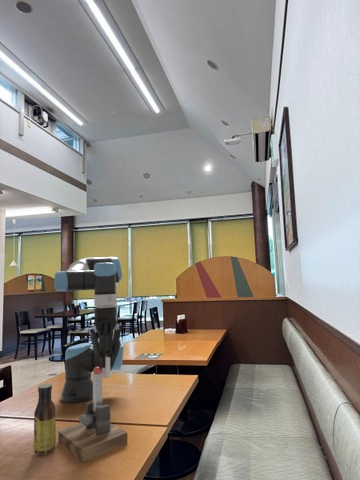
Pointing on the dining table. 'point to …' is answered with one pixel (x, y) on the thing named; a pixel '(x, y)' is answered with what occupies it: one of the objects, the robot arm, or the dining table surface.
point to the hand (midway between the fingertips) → (106, 376)
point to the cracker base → (93, 436)
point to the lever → (94, 398)
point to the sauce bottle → (44, 422)
